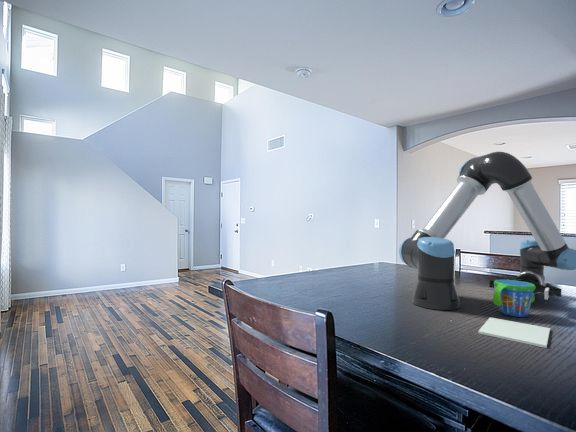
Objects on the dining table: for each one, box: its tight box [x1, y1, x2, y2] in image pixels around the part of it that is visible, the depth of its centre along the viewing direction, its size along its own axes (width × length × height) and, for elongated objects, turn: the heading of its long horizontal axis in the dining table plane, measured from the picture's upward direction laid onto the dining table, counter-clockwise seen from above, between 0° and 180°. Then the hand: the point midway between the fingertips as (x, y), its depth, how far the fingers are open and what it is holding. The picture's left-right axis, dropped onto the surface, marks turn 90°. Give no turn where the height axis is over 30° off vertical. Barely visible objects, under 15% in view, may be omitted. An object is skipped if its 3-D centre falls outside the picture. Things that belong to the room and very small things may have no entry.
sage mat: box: [477, 317, 551, 349], centre depth 85 cm, size 16×14×1 cm
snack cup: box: [492, 279, 536, 318], centre depth 101 cm, size 16×10×10 cm
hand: (519, 291), depth 105 cm, fingers open, 13 cm apart
